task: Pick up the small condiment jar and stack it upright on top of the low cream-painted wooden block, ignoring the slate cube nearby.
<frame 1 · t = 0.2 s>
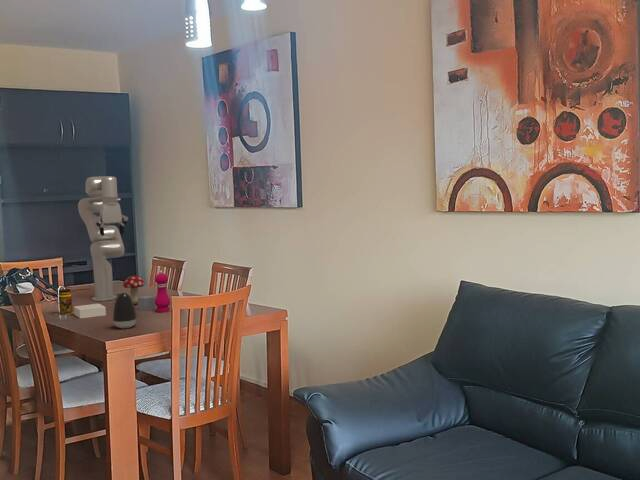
hand: (112, 234, 366), 36 cm above the table, tool pointing down, fingers open, 9 cm apart
slate cube: (146, 309, 357), on the table
pepper mill: (163, 311, 349), on the table
decorative mushroom: (135, 305, 370), on the table
condiment: (64, 314, 351), on the table
dark grey domed cylinder: (125, 327, 315), on the table
cream block: (90, 314, 346), on the table
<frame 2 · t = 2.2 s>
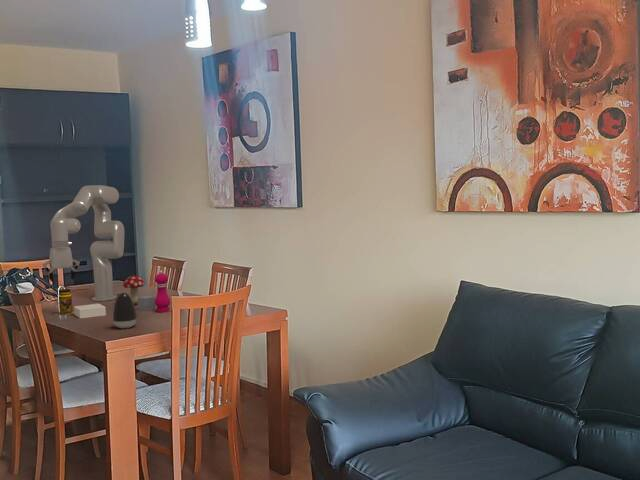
hand: (62, 280, 349), 17 cm above the table, tool pointing down, fingers open, 9 cm apart
nothing on the table moved.
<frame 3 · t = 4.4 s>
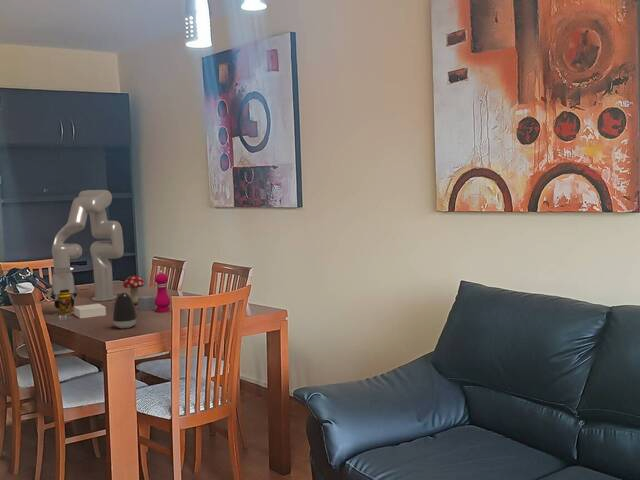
hand: (64, 307, 351), 3 cm above the table, tool pointing down, fingers closed on condiment, 6 cm apart
condiment: (64, 314, 351), on the table, touching gripper
everything else where it was.
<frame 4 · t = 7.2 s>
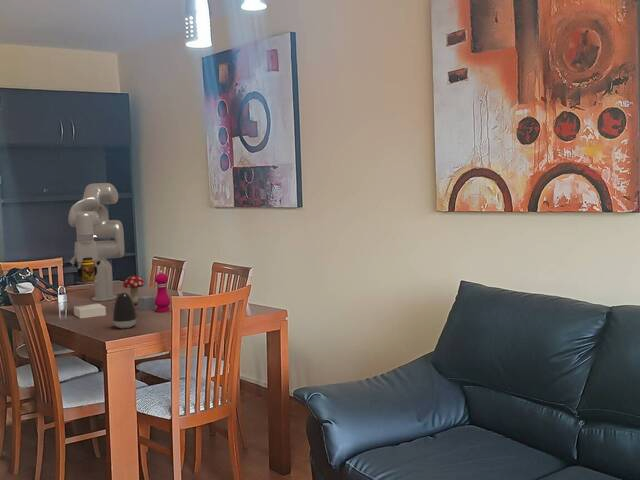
hand: (87, 275, 344), 19 cm above the table, tool pointing down, fingers closed on condiment, 6 cm apart
condiment: (87, 282, 344), point 16 cm above the table, touching gripper
everything else where it was.
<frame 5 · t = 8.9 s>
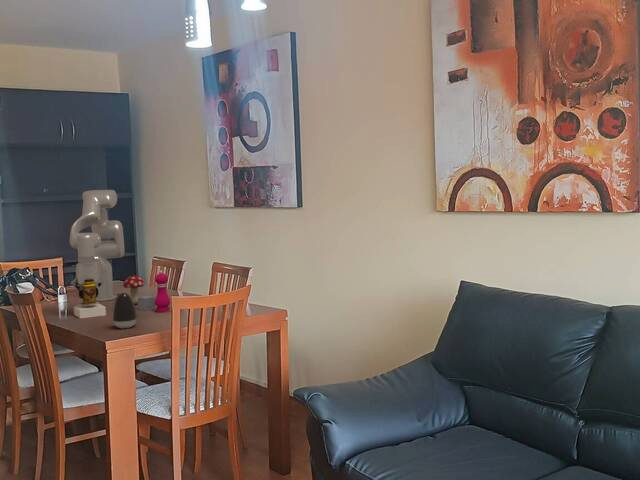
hand: (88, 297, 345), 9 cm above the table, tool pointing down, fingers closed on condiment, 6 cm apart
condiment: (88, 304, 345), point 5 cm above the table, touching gripper
everything else where it was.
when the fingers open (8 cm above the table, at t = 10.0 s): condiment stays where it is, resting on cream block.
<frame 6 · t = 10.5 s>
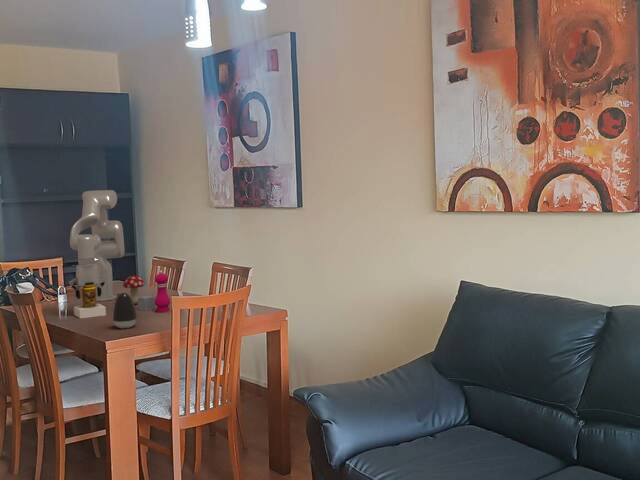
hand: (88, 297, 345), 8 cm above the table, tool pointing down, fingers open, 9 cm apart
condiment: (88, 307, 345), point 4 cm above the table, touching cream block
everything else where it was.
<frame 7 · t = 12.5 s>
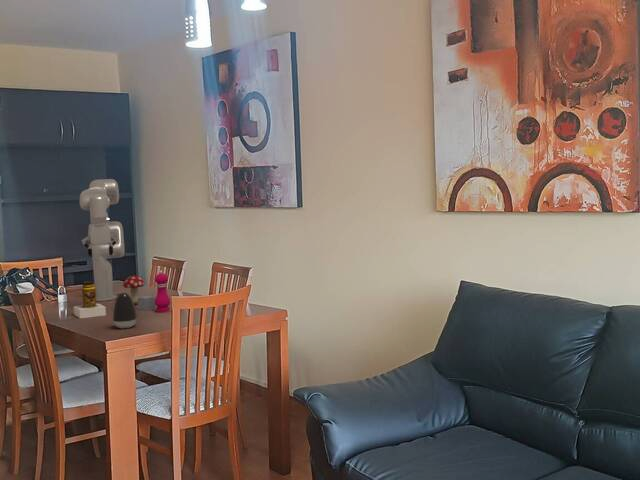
hand: (100, 255, 354), 27 cm above the table, tool pointing down, fingers open, 9 cm apart
nothing on the table moved.
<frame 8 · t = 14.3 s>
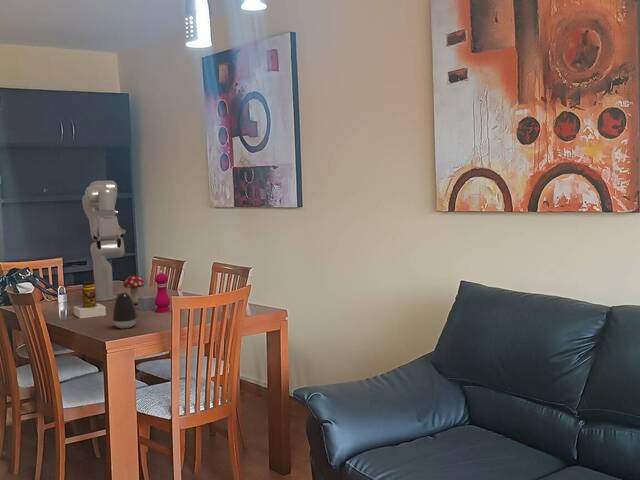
hand: (109, 248, 360), 30 cm above the table, tool pointing down, fingers open, 9 cm apart
nothing on the table moved.
at the end: condiment inside the target area on the cream block (0.4 cm from its centre), point 3.8 cm above the cream block's base; condiment tilted 0°; the gripper is holding nothing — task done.
